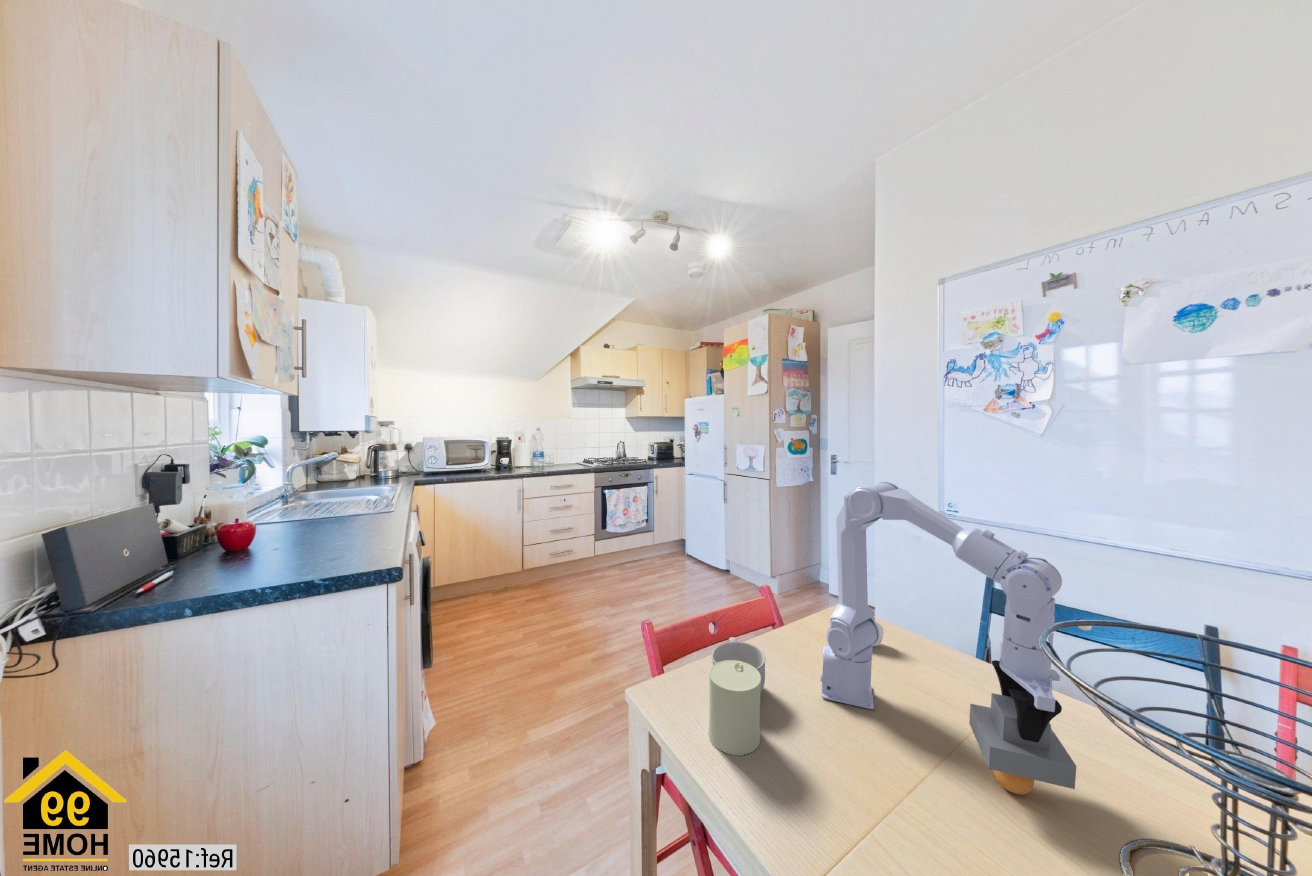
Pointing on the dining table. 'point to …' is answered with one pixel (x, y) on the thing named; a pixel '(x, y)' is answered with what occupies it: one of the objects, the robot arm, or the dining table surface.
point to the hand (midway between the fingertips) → (1020, 724)
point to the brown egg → (1014, 782)
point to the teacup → (741, 655)
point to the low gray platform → (1019, 745)
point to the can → (734, 707)
